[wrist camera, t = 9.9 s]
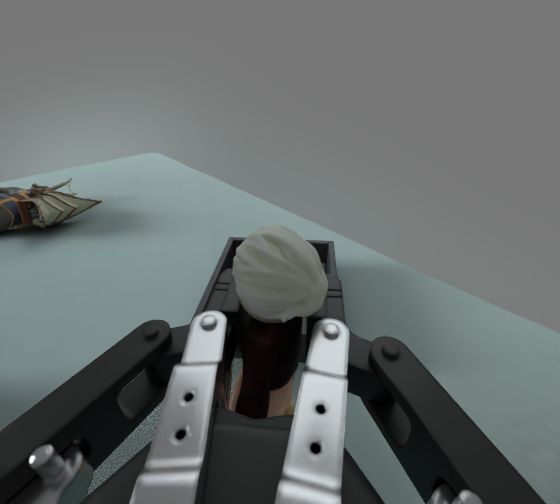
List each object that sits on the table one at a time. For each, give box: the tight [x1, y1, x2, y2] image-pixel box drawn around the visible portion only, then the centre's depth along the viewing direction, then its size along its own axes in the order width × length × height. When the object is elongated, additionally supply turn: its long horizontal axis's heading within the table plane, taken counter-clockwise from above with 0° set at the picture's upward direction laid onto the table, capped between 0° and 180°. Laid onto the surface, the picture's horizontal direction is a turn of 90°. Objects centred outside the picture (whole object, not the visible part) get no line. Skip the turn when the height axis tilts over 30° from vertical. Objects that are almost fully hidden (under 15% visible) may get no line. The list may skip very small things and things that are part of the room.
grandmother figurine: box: [229, 225, 328, 419], centre depth 14 cm, size 8×4×13 cm, turn 174°
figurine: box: [0, 178, 102, 232], centre depth 46 cm, size 20×6×17 cm
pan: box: [190, 237, 337, 362], centre depth 31 cm, size 12×14×3 cm
